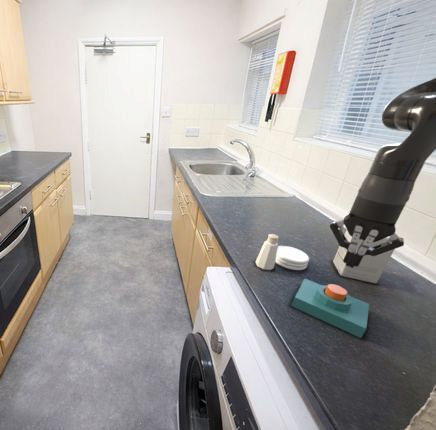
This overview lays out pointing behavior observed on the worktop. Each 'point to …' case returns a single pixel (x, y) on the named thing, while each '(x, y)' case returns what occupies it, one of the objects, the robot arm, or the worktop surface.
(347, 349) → the worktop surface
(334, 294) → the orange button cap
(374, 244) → the rectangular carton
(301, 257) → the white round stack
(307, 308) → the button base
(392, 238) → the robot arm
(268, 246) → the pepper shaker
